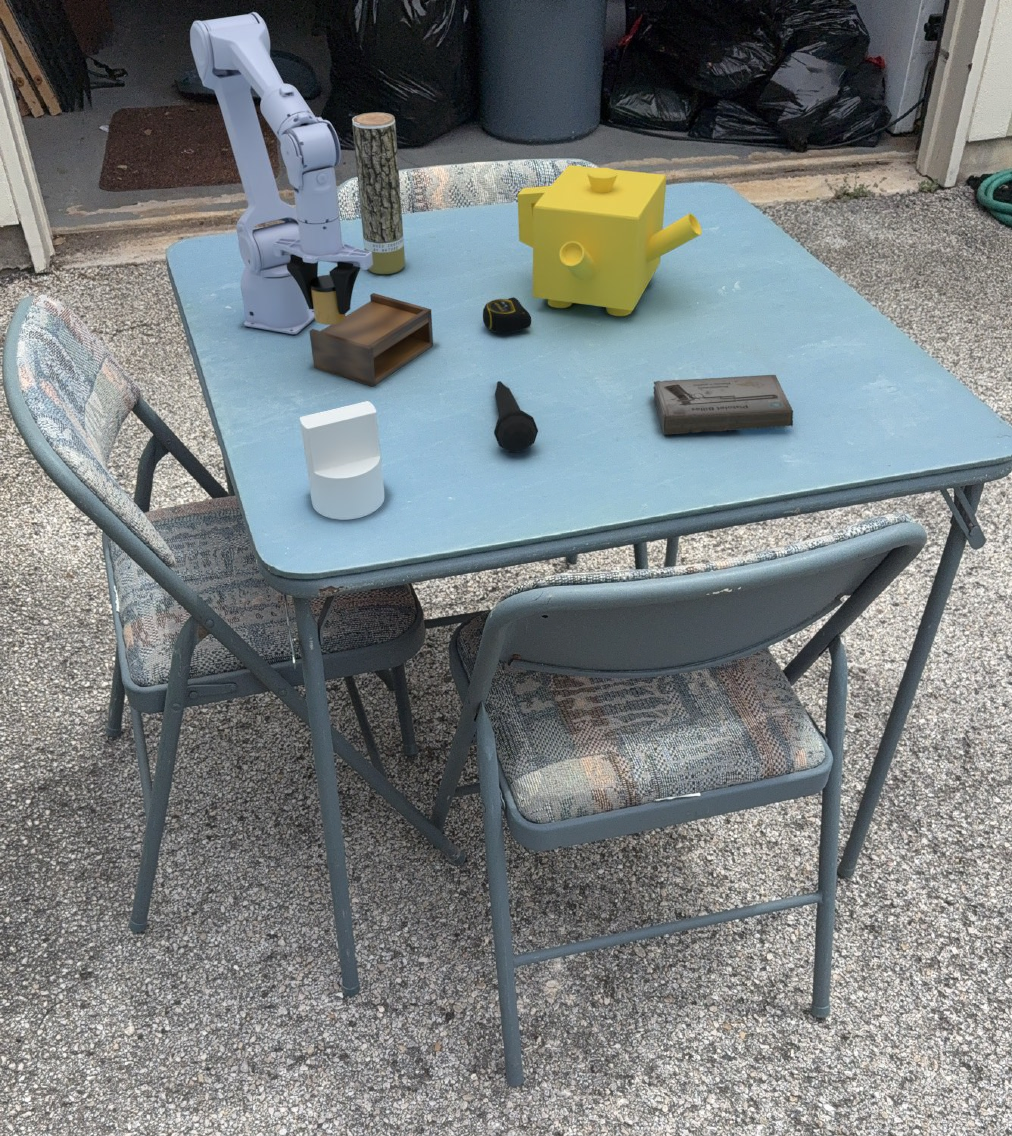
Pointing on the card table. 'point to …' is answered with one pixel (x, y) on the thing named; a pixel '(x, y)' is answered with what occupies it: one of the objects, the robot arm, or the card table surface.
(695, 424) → the box
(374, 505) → the base with upright slab
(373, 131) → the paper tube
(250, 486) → the card table surface
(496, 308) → the tape measure
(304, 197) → the robot arm
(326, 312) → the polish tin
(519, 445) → the microphone
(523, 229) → the yellow cubic teapot
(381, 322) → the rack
